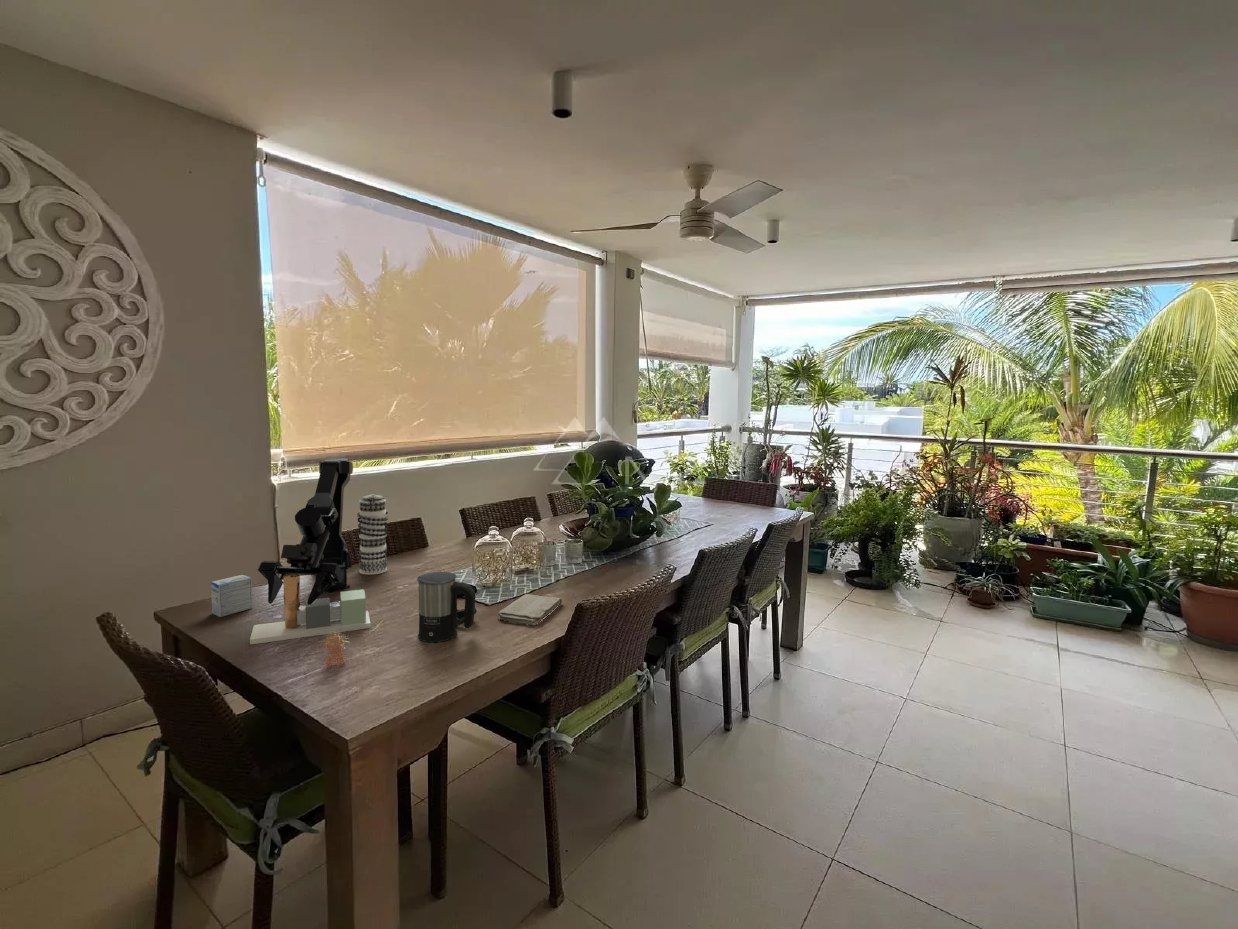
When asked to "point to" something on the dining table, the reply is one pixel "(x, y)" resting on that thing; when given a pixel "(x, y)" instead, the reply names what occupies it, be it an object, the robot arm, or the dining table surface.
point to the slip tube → (292, 607)
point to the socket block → (353, 607)
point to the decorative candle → (372, 535)
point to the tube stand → (305, 625)
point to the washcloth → (529, 609)
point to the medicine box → (231, 595)
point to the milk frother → (443, 606)
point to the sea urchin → (335, 648)
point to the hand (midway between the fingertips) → (289, 603)
